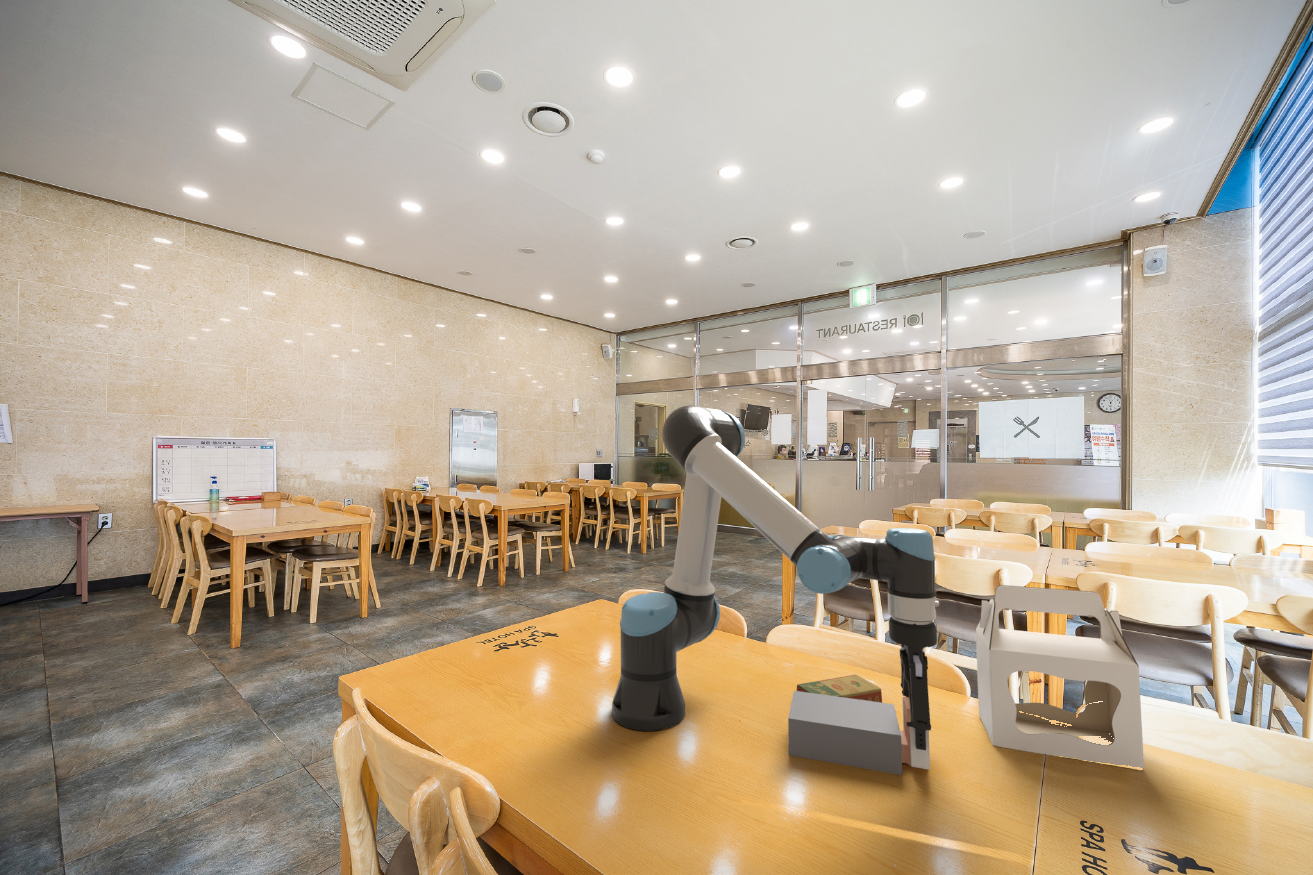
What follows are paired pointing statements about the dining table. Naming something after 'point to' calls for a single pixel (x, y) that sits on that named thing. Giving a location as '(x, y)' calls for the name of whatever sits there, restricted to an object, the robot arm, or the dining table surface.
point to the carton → (844, 688)
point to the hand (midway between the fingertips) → (915, 750)
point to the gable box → (1066, 658)
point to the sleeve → (845, 732)
